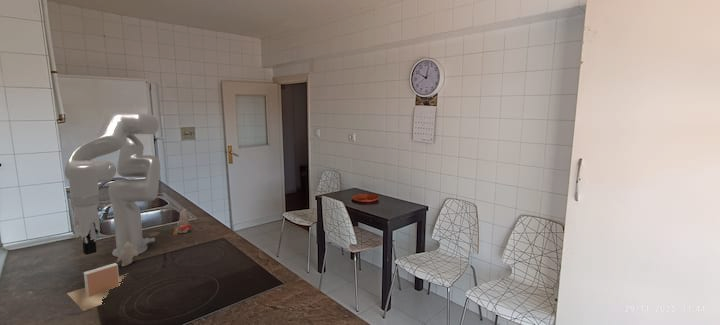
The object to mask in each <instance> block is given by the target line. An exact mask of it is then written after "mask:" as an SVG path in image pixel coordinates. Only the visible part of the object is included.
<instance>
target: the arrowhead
mask: <svg viewBox="0 0 720 325" xmlns="http://www.w3.org/2000/svg"><path fill="white" fill-rule="evenodd" d="M138 255H139V254H138V253H137V250H136V249H135V248H134V246H133V245H132V244H131V243H130V242H127V243H126V244H125V245H124V247H123V248H122V249H121V251H120V254H119V256H118V257H116V258H117V259H116V263H119V262H120V261H121V267H125V266H128V265H131V264H132V263H133V258H134V257H138Z"/></svg>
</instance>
